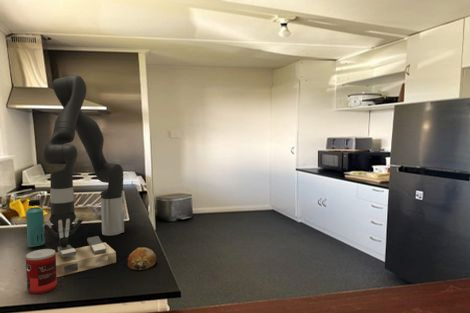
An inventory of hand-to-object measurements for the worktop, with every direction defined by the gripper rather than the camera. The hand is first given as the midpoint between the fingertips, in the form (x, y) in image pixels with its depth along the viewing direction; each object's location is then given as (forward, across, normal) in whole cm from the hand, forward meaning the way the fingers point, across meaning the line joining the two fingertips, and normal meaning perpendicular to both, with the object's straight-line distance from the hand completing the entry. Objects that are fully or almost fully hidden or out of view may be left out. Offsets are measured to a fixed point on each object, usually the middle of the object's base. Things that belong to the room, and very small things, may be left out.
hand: (63, 246), depth 116 cm
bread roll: (+6, -22, +18) cm, 29 cm away
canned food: (+6, +9, +16) cm, 19 cm away
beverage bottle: (+7, +6, -26) cm, 28 cm away
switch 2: (+2, -10, +4) cm, 11 cm away
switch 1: (+2, 0, +4) cm, 4 cm away
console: (+6, -5, +4) cm, 9 cm away
